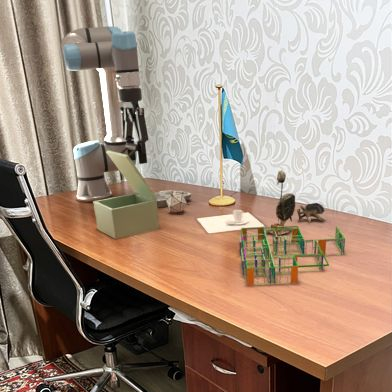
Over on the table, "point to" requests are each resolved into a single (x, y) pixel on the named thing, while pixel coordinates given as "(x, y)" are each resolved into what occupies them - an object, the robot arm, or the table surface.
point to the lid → (131, 171)
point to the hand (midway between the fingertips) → (137, 161)
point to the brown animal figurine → (311, 211)
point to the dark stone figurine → (283, 205)
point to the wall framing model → (295, 239)
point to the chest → (126, 215)
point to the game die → (176, 202)
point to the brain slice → (166, 194)
